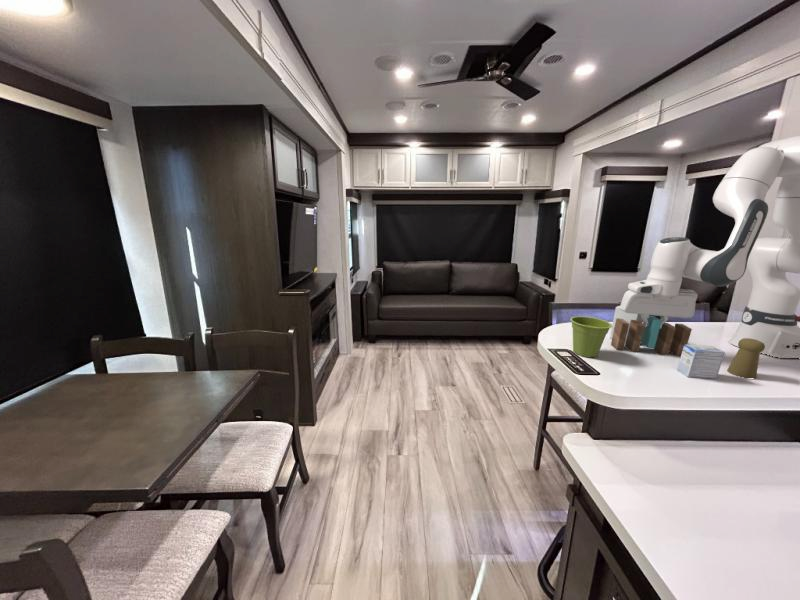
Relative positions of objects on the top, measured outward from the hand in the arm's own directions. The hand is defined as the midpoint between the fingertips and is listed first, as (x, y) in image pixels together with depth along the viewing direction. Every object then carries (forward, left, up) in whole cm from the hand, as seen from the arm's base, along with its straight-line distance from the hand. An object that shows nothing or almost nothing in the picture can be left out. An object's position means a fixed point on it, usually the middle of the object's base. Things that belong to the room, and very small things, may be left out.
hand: (651, 327), depth 107 cm
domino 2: (+4, 0, -9) cm, 10 cm away
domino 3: (0, 0, -7) cm, 7 cm away
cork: (-20, +11, -9) cm, 25 cm away
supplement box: (+3, -10, -9) cm, 13 cm away
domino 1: (+9, 0, -9) cm, 12 cm away
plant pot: (+22, +8, -9) cm, 25 cm away
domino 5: (-9, 0, -9) cm, 13 cm away
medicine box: (-6, +16, -9) cm, 19 cm away
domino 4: (-5, 0, -9) cm, 10 cm away
